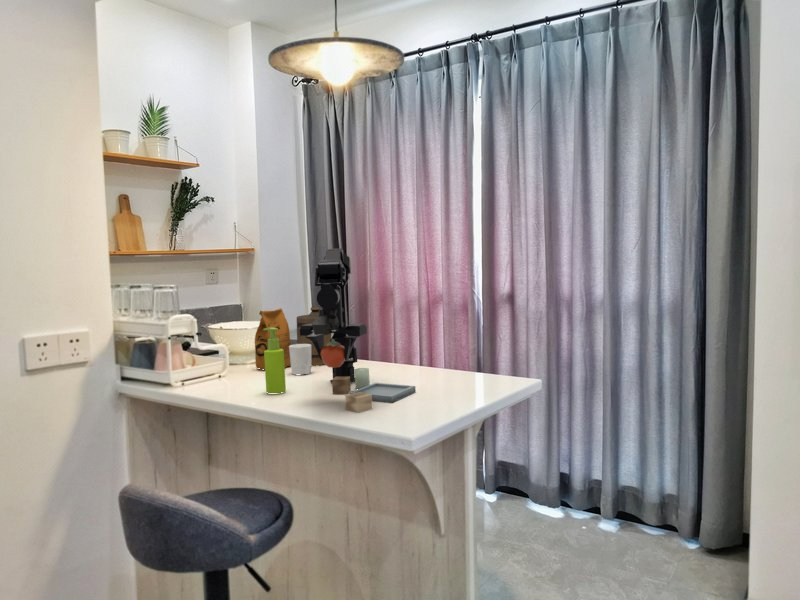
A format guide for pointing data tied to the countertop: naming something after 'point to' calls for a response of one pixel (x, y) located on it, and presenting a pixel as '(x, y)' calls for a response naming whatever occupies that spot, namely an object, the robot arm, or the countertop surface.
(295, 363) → the white cup
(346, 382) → the walnut block
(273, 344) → the soap dispenser
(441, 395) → the countertop surface
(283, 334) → the coffee package
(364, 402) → the beech block
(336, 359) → the tomato
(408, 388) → the dish
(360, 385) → the sage green capsule
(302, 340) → the wooden container
